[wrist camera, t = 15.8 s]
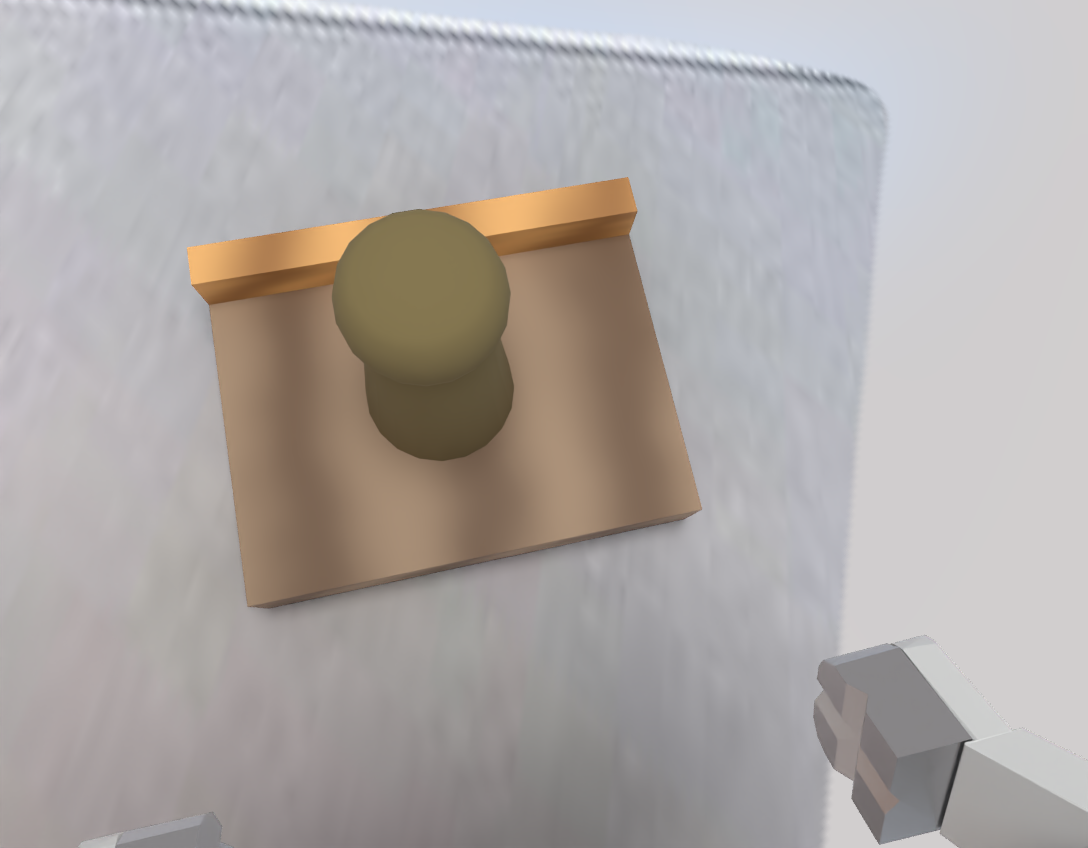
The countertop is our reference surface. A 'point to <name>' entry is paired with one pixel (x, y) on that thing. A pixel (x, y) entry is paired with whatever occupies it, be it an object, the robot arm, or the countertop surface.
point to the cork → (428, 331)
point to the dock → (458, 484)
